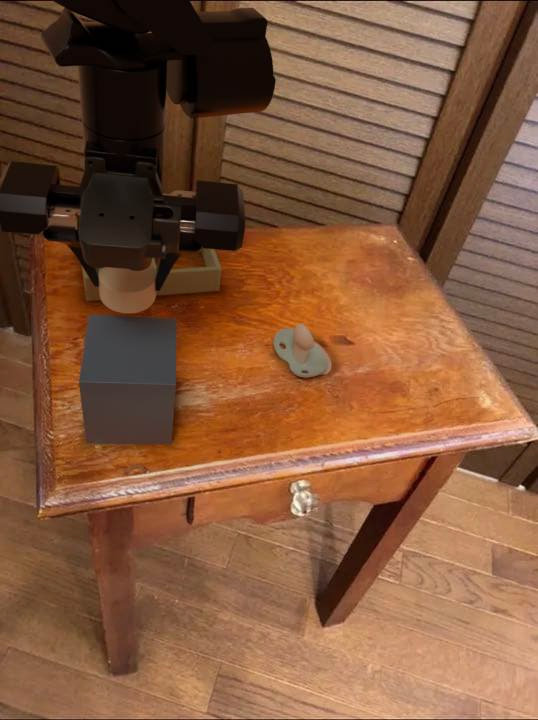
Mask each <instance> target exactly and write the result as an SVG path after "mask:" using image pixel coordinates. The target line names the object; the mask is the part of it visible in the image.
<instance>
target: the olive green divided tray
mask: <svg viewBox="0 0 538 720" xmlns="http://www.w3.org/2000/svg"><path fill="white" fill-rule="evenodd" d="M198 253H201V255H202V259H203V261H204V264H205V266H201V267H187V268H172V269H171V271H170V273H169V275H168V276H167V278H166V280H165V282H164V284H163V286H162V288H161V290H160V291H156V297H157V296H170V295H183V294H195V293H206V292H208V293H209V292H219V291H220V286H221V281H222V280H221V279H222V277H221V276H222V271H223V269H222V266H221V262H220V260H219V257H218V254H217V252H216V249H205V248H203V247H201V250H200V251H199V252H198ZM155 259H156V258H152V262H151V264H152V265H153V267H154V268H155V270H156V268H157V263H156V260H155ZM81 272H82V279H83V286H84V292H85V301H87V302H91V301H101V299H100V293H99V287H95V286H94V285H93V283H92V282H91V280H90V278H89V277H88V275H87V273H86V272H85V270H84V268H83V267H82V266H81Z"/></svg>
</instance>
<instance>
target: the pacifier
mask: <svg viewBox="0 0 538 720" xmlns="http://www.w3.org/2000/svg"><path fill="white" fill-rule="evenodd" d="M281 345H283V346H284V347H285V348H282V347H281ZM273 349H274V351H275V353H276V355H277V356H278V357H279V358H280V359H281V360H282V361H284V362H286V363H287V364H288V367H289V370H290V372H291V373H292V374H294V375H295V376H296V377H300V378H313V377H316V376H324V375H327V374H328V373H330V372H331V370H332V365H333V364H332V360H331V357H330V355H329V354H328V352H327V351H326V350H325V348H324V347H322V345H320V344H319V343H318V342H317V341H316V340H314V337H313V335H312V332H311V331H310V329H308V327H307V326H306V325H305V324H303V323H301V322H300V323H297V324H296V325H295V327H294V328H289V327H287V328H282V329H279V330H278V331H277V332H276V334H275V335H274V338H273Z"/></svg>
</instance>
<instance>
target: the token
mask: <svg viewBox="0 0 538 720" xmlns="http://www.w3.org/2000/svg"><path fill="white" fill-rule="evenodd" d="M98 278H99V293H100V299H101V300H100V301H101V302H102V304H103V305H104V306H105V307H106V308H107V309H109V310H111V311H113V312H117V313H120V314H136V313H140V312H144V311H145V310H147V309H148V308H150V307H151V306H152V305H153V304H154V302H155V300H156V298H157V296H156V291H155V280H156V270H155V268H154V267H153V265H152V264H151V265H150V266H149V267H148V268H147V269H145V270H142V271H132V270H130V269H123V268H110V267H104V268H99V274H98Z"/></svg>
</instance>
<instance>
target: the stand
mask: <svg viewBox="0 0 538 720" xmlns="http://www.w3.org/2000/svg"><path fill="white" fill-rule="evenodd" d="M177 321H178V319H177V318H171V317H170V318H169V317H152V316H151V317H150V316H132V315H130V316H129V315H112V314H110V315H109V314H91V313H89V314H88V317H87V325H86V332H85V337H84V343H83V344H84V345H83V350H82V357H81V364H80V372H79V379H78V385H79V394H80V402H81V403H80V404H81V410H82V411H81V412H82V419H83V427H84V436H85V437H84V438H85V444H86V445H167V446H169V445H170V446H171V445H172V442H173V429H174V419H175V418H174V416H175V403H176V391H177V390H176V389H177V340H178V339H177V338H178V337H177V332H178V331H177V327H178V326H177V324H178V322H177Z"/></svg>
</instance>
